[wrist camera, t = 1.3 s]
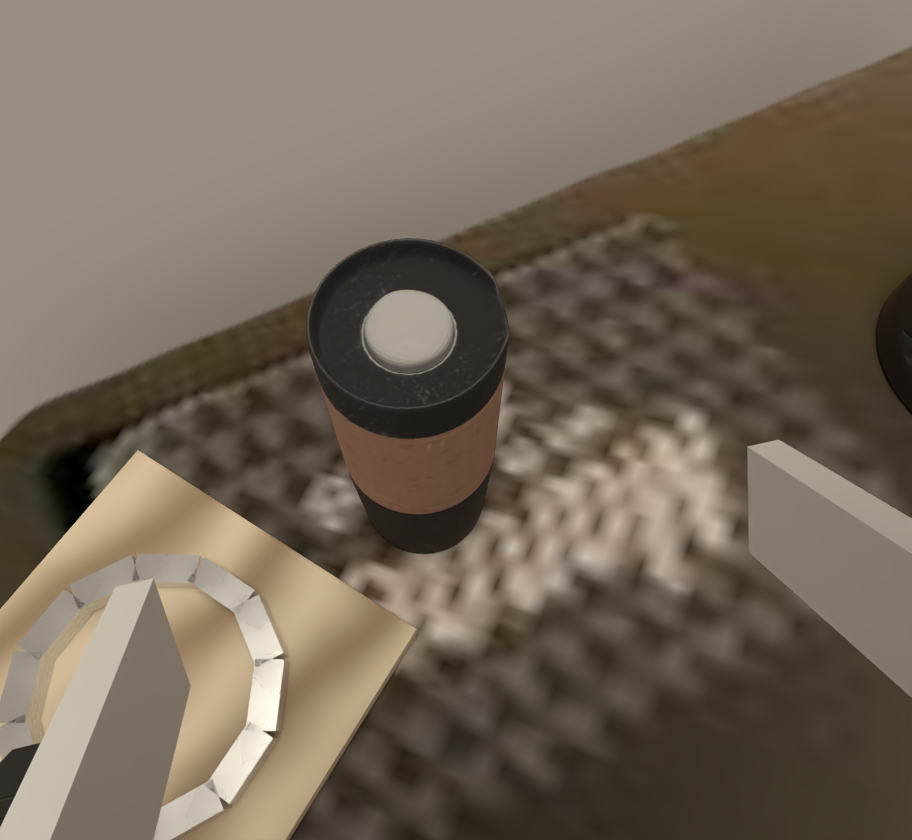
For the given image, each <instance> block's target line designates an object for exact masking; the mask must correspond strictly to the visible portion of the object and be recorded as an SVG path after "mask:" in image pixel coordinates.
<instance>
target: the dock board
mask: <svg viewBox="0 0 912 840" xmlns="http://www.w3.org/2000/svg"><path fill="white" fill-rule="evenodd" d="M137 554H170V555H200V556H201V557H202V558H203V559H204V558H205V557H206V558H207V559H209V560H210V561H212V562H213V563H215V564H216V565H218V566H219V567H221V568H222V569H224V570H225V571H227V572H228V573H230V574H231V575H233V576H234V577H236V578H237V579H239V580H240V581H242V582H243V583H245V584H246V585H248V586H249V587H251V588H252V589H254V590H255V591H256V592H258V593H259V594H260V595H261V597H262V598H263V599H264V600H265V601H266V604H267V606H268V608H269V611H270V613H271V616H272V618H273V620H274V623H275V625H276V627H277V630H278V632H279V634H280V637H281V639H282V641H283V644H284V646H285V648H286V651H287V653H288V655H289V657H287V658H286V659H284V660H286V661H287V662H289V663H290V667H289V676H288V684H287V693H286V701H285V710H284V718H283V727H282V732H270V733H272V734H273V735H274V736H276V737H277V738H279V740H278V742H277V743H276V745H275V746H274V748H273V749H272V751H271V752H270V754H269V755H268V757H267V759H266V760H265V762H264V763H263V765H262V766H261V768H260V769H259V771H258V772H257V774H256V775H255V777H254V778H253V780H252V781H251V783H250V784H249V786H248V787H247V789H246V790H245V792H244V793H243V795H242V796H241V798H240V800H239V801H238V803H233V804H231V807H232V808H231V809H229V810H227V811H226V812H224V813H222V814H220V815H219V816H217V817H215V818H213V819H212V820H210V821H208V822H206V823H205V824H203V825H201V826H199V827H197V828H196V829H194V830H192V831H190V832H189V833H187V834H185V835H183V836H182V837H180V838H178V839H176V840H290V838H291V837H292V835H293V834H294V832H295V830H296V829H297V827H298V825H299V824H300V822H301V821H302V819H303V817H304V816H305V814H306V813H307V811H308V809H309V808H310V806H311V804H312V803H313V801H314V800H315V798H316V796H317V795H318V793H319V792H320V790H321V788H322V787H323V785H324V784H325V782H326V780H327V779H328V777H329V775H330V774H331V772H332V771H333V769H334V767H335V766H336V764H337V763H338V761H339V759H340V758H341V756H342V754H343V753H344V751H345V750H346V748H347V746H348V745H349V743H350V742H351V740H352V738H353V737H354V735H355V733H356V732H357V730H358V729H359V727H360V725H361V724H362V722H363V721H364V719H365V717H366V716H367V714H368V713H369V711H370V709H371V708H372V706H373V704H374V703H375V701H376V700H377V698H378V696H379V695H380V693H381V692H382V690H383V688H384V687H385V685H386V683H387V682H388V680H389V679H390V677H391V675H392V674H393V672H394V671H395V669H396V667H397V666H398V664H399V662H400V661H401V659H402V658H403V656H404V654H405V653H406V651H407V650H408V648H409V646H410V645H411V643H412V642H413V640H414V638H415V637H416V635H417V629H415V628H414V627H412V626H411V625H409V624H408V623H406V622H405V621H403V620H401V619H400V618H398V617H397V616H395V615H394V614H392V613H391V612H389V611H387V610H386V609H384V608H383V607H381V606H380V605H378V604H376V603H375V602H373V601H372V600H370V599H369V598H367V597H366V596H364V595H362V594H361V593H359V592H358V591H356V590H355V589H353V588H352V587H350V586H348V585H347V584H345V583H344V582H342V581H341V580H339V579H338V578H336V577H334V576H333V575H331V574H330V573H328V572H327V571H325V570H323V569H322V568H320V567H319V566H317V565H316V564H314V563H313V562H311V561H309V560H308V559H306V558H305V557H303V556H302V555H300V554H299V553H297V552H295V551H294V550H292V549H291V548H289V547H288V546H286V545H285V544H283V543H281V542H280V541H278V540H277V539H275V538H274V537H272V536H270V535H269V534H267V533H266V532H264V531H263V530H261V529H260V528H258V527H256V526H255V525H253V524H252V523H250V522H249V521H247V520H246V519H244V518H242V517H241V516H239V515H238V514H236V513H235V512H233V511H232V510H230V509H228V508H227V507H225V506H224V505H222V504H221V503H219V502H218V501H216V500H214V499H213V498H211V497H210V496H208V495H207V494H205V493H203V492H202V491H200V490H199V489H197V488H196V487H194V486H193V485H191V484H189V483H188V482H186V481H185V480H183V479H182V478H180V477H179V476H177V475H175V474H174V473H172V472H171V471H169V470H168V469H166V468H165V467H163V466H161V465H160V464H158V463H157V462H155V461H154V460H152V459H150V458H149V457H147V456H146V455H144V454H143V453H141V452H140V451H137V452H136V453H135V454H134V455H133V456H132V458H131V459H130V460H129V461H128V462H127V463H126V465H125V466H124V467H123V468H122V469H121V470H120V472H119V473H118V474H117V475H116V476H115V477H114V478H113V480H112V481H111V482H110V483H109V484H108V485H107V487H106V488H105V489H104V490H103V491H102V492H101V493H100V495H99V496H98V497H97V498H96V499H95V500H94V502H93V503H92V504H91V505H90V506H89V507H88V509H87V510H86V511H85V512H84V513H83V514H82V515H81V517H80V518H79V519H78V520H77V521H76V522H75V524H74V525H73V526H72V527H71V528H70V529H69V530H68V532H67V533H66V534H65V535H64V536H63V537H62V539H61V540H60V541H59V542H58V543H57V544H56V546H55V547H54V548H53V549H52V550H51V551H50V552H49V554H48V555H47V556H46V557H45V558H44V559H43V561H42V562H41V563H40V564H39V565H38V566H37V567H36V569H35V570H34V571H33V572H32V573H31V574H30V576H29V577H28V578H27V579H26V580H25V581H24V583H23V584H22V585H21V586H20V587H19V588H18V589H17V591H16V592H15V593H14V594H13V595H12V596H11V598H10V599H9V600H8V601H7V602H6V603H5V604H4V606H3V607H2V608H1V609H0V700H1V697H2V693H3V689H4V685H5V682H6V678H7V674H8V671H9V667H10V663H11V660H12V656H13V652H14V651H17V652H26V651H25V650H23V649H22V648H21V647H19V646H18V645H17V644H18V643H19V642H20V641H21V640H22V638H23V637H24V636H25V635H26V634H27V633H28V631H29V630H30V629H31V628H32V627H33V625H34V624H35V623H36V622H37V621H38V619H39V618H40V617H41V616H42V615H43V613H44V612H45V611H46V610H47V609H48V607H49V606H50V605H51V604H52V603H53V602H54V600H55V599H56V598H57V597H58V596H59V594H60V593H61V592H62V591H63V590H64V589H66V590H68V591H70V592H72V590H71V587H70V584H72V583H74V582H76V581H78V580H80V579H82V578H84V577H86V576H88V575H91V574H93V573H95V572H97V571H99V570H101V569H103V568H105V567H107V566H109V565H111V564H113V563H115V562H118V561H120V560H122V559H124V558H126V557H128V556H130V555H132V556H134V557H135V558H137ZM157 590H158V593H159V595H160V598H161V601H162V604H163V607H164V610H165V613H166V616H167V619H168V622H169V624H170V627H171V630H172V633H173V636H174V639H175V642H176V645H177V648H178V650H179V653H180V656H181V659H182V662H183V665H184V668H185V671H186V674H187V677H188V679H189V682H190V685H191V687H190V691H189V695H188V699H187V703H186V707H185V712H184V716H183V720H182V724H181V728H180V732H179V736H178V740H177V745H176V749H175V753H174V757H173V761H172V765H171V769H170V774H169V778H168V782H167V786H166V790H165V794H164V798H163V802H162V807H163V806H165V805H166V804H168V803H170V802H172V801H174V800H175V799H177V798H179V797H181V796H183V795H184V794H186V793H188V792H190V791H192V790H193V789H195V788H197V787H199V786H200V785H202V784H204V783H206V782H208V780H209V779H210V778H211V776H212V775H213V773H214V772H215V770H216V769H217V767H218V766H219V764H220V763H221V761H222V760H223V758H224V757H225V755H226V754H227V753H228V751H229V750H230V748H231V747H232V745H233V744H234V742H235V741H236V739H237V738H238V736H239V735H240V733H241V732H242V731H243V729H244V728H245V726H246V722H247V715H248V708H249V700H250V693H251V686H252V679H253V671H254V664H255V663H254V661H253V658H252V656H251V653H250V651H249V648H248V646H247V643H246V641H245V639H244V636H243V634H242V631H241V629H240V626H239V624H238V621H237V619H236V616H235V614H234V612H233V611H231V610H230V609H228V608H227V607H225V606H224V605H223V604H221V603H220V602H218V601H217V600H215V599H214V598H212V597H211V596H209V595H208V594H206V593H205V592H203V591H202V590H200V589H195V588H162V587H157ZM104 609H105V608H103V609H101V610H99V611H97V612H95V613H94V614H93V615H92V616H91V617H90V619H89V620H88V621H87V622H86V624H85V625H84V626H83V627H82V628H81V630H80V631H79V632H78V633H77V635H76V636H75V637H74V638H73V640H72V641H71V642H70V643H69V645H68V646H67V647H66V648H65V649H64V651H63V652H62V653H61V654H60V656H59V657H58V658H57V659H56V661H55V665H54V669H53V673H52V677H51V681H50V685H49V689H48V693H47V698H46V702H45V706H44V710H43V714H42V718H41V722H42V725H43V729H44V732H45V733H46V731H47V728H48V726H49V724H50V722H51V720H52V718H53V716H54V714H55V712H56V710H57V708H58V705H59V703H60V701H61V699H62V697H63V695H64V693H65V691H66V689H67V687H68V685H69V683H70V680H71V678H72V676H73V674H74V672H75V670H76V668H77V666H78V664H79V662H80V660H81V657H82V655H83V653H84V651H85V649H86V647H87V645H88V643H89V641H90V639H91V637H92V634H93V632H94V630H95V628H96V626H97V624H98V622H99V620H100V618H101V616H102V614H103V611H104ZM4 724H6V723H0V727H1V726H2V725H4ZM1 761H2V757H1V753H0V762H1Z"/></svg>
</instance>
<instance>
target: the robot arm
mask: <svg viewBox="0 0 912 840" xmlns="http://www.w3.org/2000/svg"><path fill="white" fill-rule="evenodd" d="M877 345H878V351H879V356H880V360H881V363H882V366H883V368H884V371H885V373H886V375H887V378H888V380H889V381H890V383H891V385H892V387H893V388H894V390H895V391H896V393H897V394H898V396H899V397H900V398H901V400H902V401H903V402H904V404H905V405H906V406H907V407H908V408H909V409H910V410H911V411H912V273H911V274H910V275H909V276H908V277H907V278H906V279H905V280H904V281H903V282H902V283H901V284H900V285H899V286H898V287H897V288H896V290H895V291H894V292H893V293H892V294H891V295H890V297H889V298H888V299H887V301H886V303H885V305H884V306H883V308H882V311H881V314H880V317H879V321H878V327H877ZM747 454H748V523H749V553H750V554H751V555H753V556H754V557H755V558H756V559H757V560H758V561H759V562H760V563H762V564H763V565H764V566H765V567H766V568H767V569H768V570H769V571H771V572H772V573H773V574H774V575H775V576H776V577H777V578H778V579H779V580H781V581H782V582H783V583H784V584H785V585H786V586H787V587H788V588H790V589H791V590H792V591H793V592H794V593H795V594H796V595H797V596H798V597H800V598H801V599H802V600H803V601H804V602H805V603H806V604H807V605H809V606H810V607H811V608H812V609H813V610H814V611H815V612H816V613H817V614H819V615H820V616H821V617H822V618H823V619H824V620H825V621H826V622H828V623H829V624H830V625H831V626H832V627H833V628H834V629H835V630H836V631H838V632H839V633H840V634H841V635H842V636H843V637H844V638H845V639H847V640H848V641H849V642H850V643H851V644H852V645H853V646H854V647H856V648H857V649H858V650H859V651H860V652H861V653H862V654H863V655H864V656H866V657H867V658H868V659H869V660H870V661H871V662H872V663H873V664H875V665H876V666H877V667H878V668H879V669H880V670H881V671H882V672H883V673H885V674H886V675H887V676H888V677H889V678H890V679H891V680H892V681H894V682H895V683H896V684H897V685H898V686H899V687H900V688H901V689H902V690H904V691H905V692H906V693H907V694H908V695H909V696H910V697H911V698H912V518H910V517H908V516H907V515H905V514H903V513H902V512H900V511H898V510H896V509H895V508H893V507H891V506H890V505H888V504H886V503H885V502H883V501H881V500H880V499H878V498H876V497H875V496H873V495H871V494H869V493H868V492H866V491H864V490H863V489H861V488H859V487H858V486H856V485H854V484H853V483H851V482H849V481H848V480H846V479H844V478H842V477H841V476H839V475H837V474H836V473H834V472H832V471H831V470H829V469H827V468H826V467H824V466H822V465H821V464H819V463H817V462H816V461H814V460H812V459H810V458H809V457H807V456H805V455H804V454H802V453H800V452H799V451H797V450H795V449H794V448H792V447H790V446H789V445H787V444H785V443H783V442H782V441H780V440H775V441H771V442H766V443H762V444H757V445H753V446H748V447H747ZM190 687H191V685H190V682H189V679H188V677H187V674H186V671H185V668H184V665H183V662H182V659H181V656H180V653H179V650H178V648H177V645H176V642H175V639H174V636H173V633H172V630H171V627H170V624H169V622H168V619H167V616H166V613H165V610H164V607H163V604H162V601H161V598H160V595H159V593H158V590H157V587H156V584H155V581H154V578H153V579H148V580H144V581H139V582H135V583H130V584H126V585H121V586H117V587H115V588H114V591H113V593H112V595H111V597H110V599H109V601H108V603H107V605H106V607H105V609H104V611H103V614H102V616H101V618H100V620H99V622H98V624H97V626H96V628H95V630H94V632H93V634H92V637H91V639H90V641H89V643H88V645H87V647H86V649H85V651H84V653H83V655H82V657H81V660H80V662H79V664H78V666H77V668H76V670H75V672H74V674H73V676H72V678H71V680H70V683H69V685H68V687H67V689H66V691H65V693H64V695H63V697H62V699H61V701H60V703H59V705H58V708H57V710H56V712H55V714H54V716H53V718H52V720H51V722H50V724H49V726H48V728H47V731H46V733H45V735H44V737H43V739H42V741H41V743H37V744H33V745H29V746H25V747H21V748H16V749H12V750H11V751H10V753H9V754H8V755H7V756H6V757H5V758H4V759H3V760H2V761H1V762H0V840H154V835H155V831H156V827H157V823H158V819H159V815H160V811H161V807H162V802H163V798H164V794H165V790H166V786H167V782H168V778H169V774H170V769H171V765H172V761H173V757H174V753H175V749H176V745H177V740H178V736H179V732H180V728H181V724H182V720H183V716H184V712H185V707H186V703H187V699H188V695H189V691H190Z"/></svg>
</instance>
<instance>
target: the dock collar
mask: <svg viewBox="0 0 912 840" xmlns="http://www.w3.org/2000/svg"><path fill="white" fill-rule="evenodd" d="M153 578H154V581H155V584H156V587H162V588H195V589H200V590H202V591H203V592H205V593H206V594H208V595H209V596H211V597H212V598H214V599H215V600H217V601H218V602H220V603H221V604H223V605H224V606H225V607H227V608H228V609H230V610H231V611H233V612H234V614H235V616H236V619H237V621H238V624H239V626H240V629H241V631H242V634H243V636H244V639H245V641H246V643H247V646H248V648H249V651H250V653H251V656H252V658H253V661H254V663H255V664H254V671H253V679H252V686H251V693H250V700H249V708H248V715H247V722H246V726H245V728H244V729H243V731H242V732H241V733H240V735H239V736H238V738H237V739H236V741H235V742H234V744H233V745H232V747H231V748H230V750H229V751H228V753H227V754H226V755H225V757H224V758H223V760H222V761H221V763H220V764H219V766H218V767H217V769H216V770H215V772H214V773H213V775H212V776H211V778H210V779H209V780H208V782H206V783H204V784H202V785H200V786H199V787H197V788H195V789H193V790H192V791H190V792H188V793H186V794H184V795H183V796H181V797H179V798H177V799H175V800H174V801H172V802H170V803H168V804H166V805H165V806H163V807H161V811H160V815H159V819H158V823H157V827H156V831H155V835H154V840H176V839H178V838H180V837H182V836H183V835H185V834H187V833H189V832H190V831H192V830H194V829H196V828H197V827H199V826H201V825H203V824H205V823H206V822H208V821H210V820H212V819H213V818H215V817H217V816H219V815H220V814H222V813H224V812H226V811H227V810H229V809H231V808H232V807H231V804H233V803H238V801H239V800H240V798H241V796H242V795H243V793H244V792H245V790H246V789H247V787H248V786H249V784H250V783H251V781H252V780H253V778H254V777H255V775H256V774H257V772H258V771H259V769H260V768H261V766H262V765H263V763H264V762H265V760H266V759H267V757H268V755H269V754H270V752H271V751H272V749H273V748H274V746H275V745H276V743H277V742H278V740H279V738H277V737H276V736H274V735H273V734H272V733H270V732H282V727H283V718H284V710H285V701H286V693H287V684H288V676H289V667H290V663H289V662H287V661H286V660H284V659H286V658H287V657H289V655H288V653H287V651H286V648H285V646H284V644H283V641H282V639H281V637H280V634H279V632H278V630H277V627H276V625H275V623H274V620H273V618H272V616H271V613H270V611H269V608H268V606H267V604H266V601H265V600H264V599H263V598H262V597H261V595H260V594H259V593H258V592H256V591H255V590H254V589H252V588H251V587H249V586H248V585H246V584H245V583H243V582H242V581H240V580H239V579H237V578H236V577H234V576H233V575H231V574H230V573H228V572H227V571H225V570H224V569H222V568H221V567H219V566H218V565H216V564H215V563H213V562H212V561H210V560H209V559H207V558H206V557H205V558H204V559H203V558H202V557H201V556H200V555H170V554H137V558H135V557H134V556H132V555H130V556H128V557H126V558H124V559H122V560H120V561H118V562H115V563H113V564H111V565H109V566H107V567H105V568H103V569H101V570H99V571H97V572H95V573H93V574H91V575H88V576H86V577H84V578H82V579H80V580H78V581H76V582H74V583H72V584H70V587H71V590H72V592H70V591H68V590H66V589H64V590H63V591H62V592H61V593H60V594H59V596H58V597H57V598H56V599H55V600H54V602H53V603H52V604H51V605H50V606H49V607H48V609H47V610H46V611H45V612H44V613H43V615H42V616H41V617H40V618H39V619H38V621H37V622H36V623H35V624H34V625H33V627H32V628H31V629H30V630H29V631H28V633H27V634H26V635H25V636H24V637H23V638H22V640H21V641H20V642H19V643H18V644H17V645H18V646H19V647H21V648H22V649H23V650H25V651H26V652H17V651H14V652H13V656H12V660H11V663H10V667H9V671H8V674H7V678H6V682H5V685H4V689H3V693H2V697H1V700H0V723H6V724H4V725H2V726H1V727H0V753H1V757H2V760H3V759H4V758H5V757H6V756H7V755H8V754H9V753H10V751H11V750H12V749H16V748H21V747H25V746H29V745H33V744H37V743H41V741H42V739H43V737H44V735H45V732H44V729H43V725H42V722H41V718H42V714H43V710H44V706H45V702H46V698H47V693H48V689H49V685H50V681H51V677H52V673H53V669H54V665H55V661H56V659H57V658H58V657H59V656H60V654H61V653H62V652H63V651H64V649H65V648H66V647H67V646H68V645H69V643H70V642H71V641H72V640H73V638H74V637H75V636H76V635H77V633H78V632H79V631H80V630H81V628H82V627H83V626H84V625H85V624H86V622H87V621H88V620H89V619H90V617H91V616H92V615H93V614H94V613H95V612H97V611H99V610H101V609H103V608H105V607H106V605H107V603H108V601H109V599H110V597H111V595H112V593H113V591H114V588H115V587H117V586H121V585H126V584H130V583H135V582H139V581H144V580H148V579H153Z"/></svg>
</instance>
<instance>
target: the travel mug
mask: <svg viewBox="0 0 912 840" xmlns="http://www.w3.org/2000/svg"><path fill="white" fill-rule="evenodd" d="M306 327H307V341H308V346H309V351H310V355H311V358H312V361H313V364H314V367H315V370H316V373H317V376H318V379H319V382H320V386H321V389H322V392H323V395H324V398H325V401H326V404H327V407H328V410H329V413H330V417H331V420H332V423H333V426H334V429H335V432H336V435H337V438H338V441H339V445H340V448H341V451H342V454H343V457H344V460H345V463H346V466H347V469H348V471H349V474H350V476H351V478H352V481H353V483H354V485H355V487H356V490H357V492H358V494H359V496H360V499H361V501H362V503H363V505H364V508H365V510H366V512H367V514H368V516H369V518H370V520H371V522H372V524H373V526H374V527H375V529H376V530H377V531H378V533H379V534H380V535H381V536H382V537H383V538H384V539H385V540H386V541H388V542H389V543H390V544H392V545H394V546H395V547H397V548H400V549H402V550H405V551H408V552H412V553H423V554H427V553H435V552H439V551H443V550H445V549H448V548H450V547H452V546H454V545H456V544H457V543H459V542H460V541H461V540H463V539H464V538H465V537H466V536H467V535H468V534H469V533H470V531H471V530H472V529H473V527H474V526H475V524H476V522H477V520H478V518H479V516H480V513H481V509H482V506H483V502H484V498H485V494H486V490H487V485H488V481H489V476H490V472H491V468H492V463H493V459H494V453H495V446H496V438H497V429H498V421H499V412H500V404H501V396H502V387H503V379H504V371H505V362H506V354H507V347H508V343H509V340H510V331H509V326H508V321H507V316H506V312H505V308H504V305H503V302H502V298H501V294H500V290H499V286H498V283H497V281H496V279H495V278H494V276H493V275H492V274H491V273H490V272H489V271H488V270H487V269H486V268H485V267H484V266H483V265H482V264H480V263H479V262H478V261H477V260H475V259H474V258H473V257H471V256H469V255H468V254H466V253H465V252H463V251H461V250H459V249H457V248H455V247H452V246H449V245H446V244H444V243H440V242H436V241H432V240H425V239H409V238H406V239H395V240H388V241H383V242H379V243H376V244H373V245H370V246H367V247H365V248H362V249H360V250H358V251H356V252H354V253H353V254H351V255H350V256H347V257H346V258H345V259H343V260H342V261H341V262H339V263H338V264H337V265H336V266H335V267H334V268H333V269H332V270H330V272H329V273H328V274H327V275H326V276H325V278H324V279H323V280H322V282H321V283H320V285H319V286H318V288H317V289H316V291H315V293H314V296H313V298H312V300H311V303H310V306H309V310H308V315H307V323H306Z"/></svg>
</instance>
